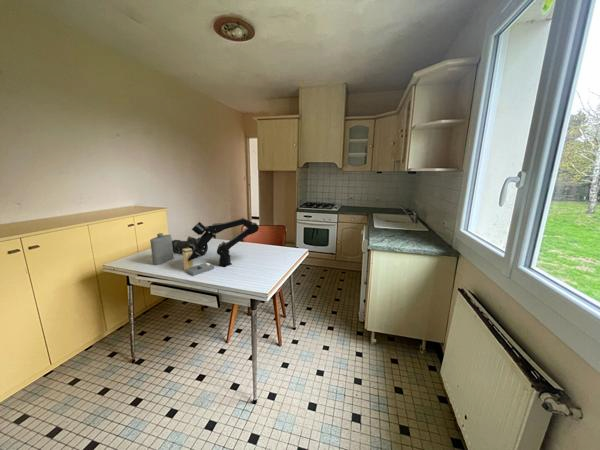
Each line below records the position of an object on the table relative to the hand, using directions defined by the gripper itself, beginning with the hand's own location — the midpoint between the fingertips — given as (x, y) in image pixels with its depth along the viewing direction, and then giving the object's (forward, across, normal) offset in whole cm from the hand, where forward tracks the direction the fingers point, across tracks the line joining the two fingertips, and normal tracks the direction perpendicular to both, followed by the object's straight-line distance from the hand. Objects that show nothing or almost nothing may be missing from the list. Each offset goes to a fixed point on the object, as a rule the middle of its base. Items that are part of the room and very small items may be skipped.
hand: (187, 258), depth 146 cm
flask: (+15, -24, -3) cm, 29 cm away
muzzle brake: (+3, -33, +9) cm, 34 cm away
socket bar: (+1, +5, +10) cm, 11 cm away
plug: (+5, 0, +6) cm, 8 cm away
